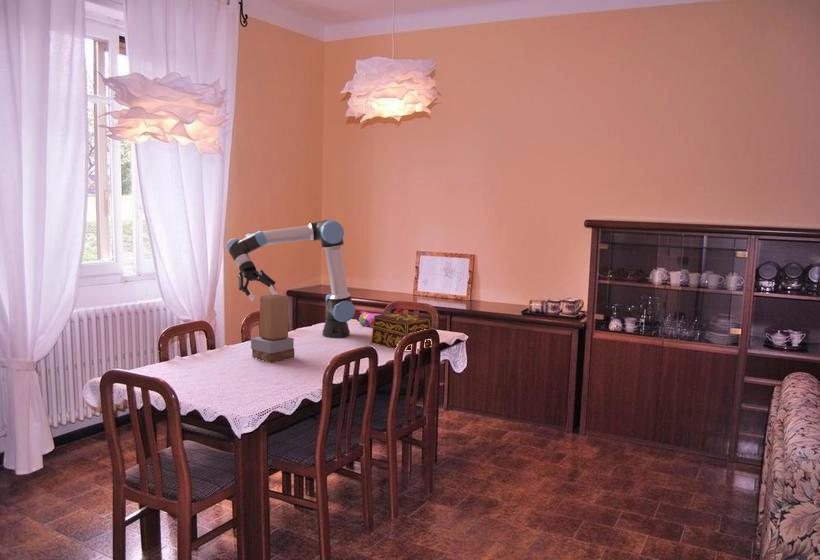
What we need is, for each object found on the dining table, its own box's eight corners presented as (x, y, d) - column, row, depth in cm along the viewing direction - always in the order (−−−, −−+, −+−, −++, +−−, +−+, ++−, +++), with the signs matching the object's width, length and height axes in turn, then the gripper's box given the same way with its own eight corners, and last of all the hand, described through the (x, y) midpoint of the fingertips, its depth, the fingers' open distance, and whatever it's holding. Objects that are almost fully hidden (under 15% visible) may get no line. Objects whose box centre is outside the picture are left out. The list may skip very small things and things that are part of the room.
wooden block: (276, 335, 319) (276, 294, 317) (288, 338, 313) (289, 296, 311) (258, 337, 312) (259, 295, 310) (271, 340, 305) (272, 297, 303)
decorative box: (370, 343, 350) (371, 315, 348) (396, 338, 363) (397, 311, 361) (406, 352, 330) (406, 323, 328) (432, 347, 343) (433, 319, 341)
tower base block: (252, 358, 313) (252, 348, 312) (276, 353, 323) (276, 343, 323) (270, 363, 304) (270, 353, 303) (294, 358, 314) (294, 348, 314)
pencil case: (356, 326, 393) (356, 311, 392) (366, 324, 401) (366, 309, 399) (383, 331, 380) (384, 316, 379) (394, 329, 387) (394, 314, 386)
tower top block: (251, 348, 311) (251, 338, 311) (274, 344, 322) (274, 334, 322) (270, 353, 303) (270, 342, 302) (293, 348, 314) (293, 338, 313)
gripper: (263, 268, 339) (282, 299, 331) (220, 272, 320) (240, 306, 312) (269, 258, 334) (288, 290, 327) (226, 262, 316) (246, 296, 308)
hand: (265, 298), depth 319 cm, fingers open, 13 cm apart
